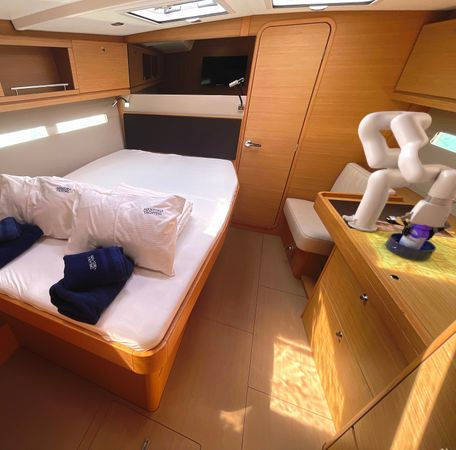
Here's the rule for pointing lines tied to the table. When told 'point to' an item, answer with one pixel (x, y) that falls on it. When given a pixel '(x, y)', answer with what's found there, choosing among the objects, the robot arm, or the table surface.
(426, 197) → the robot arm
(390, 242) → the navy blue bowl
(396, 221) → the cup
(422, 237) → the bottle
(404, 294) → the table surface
